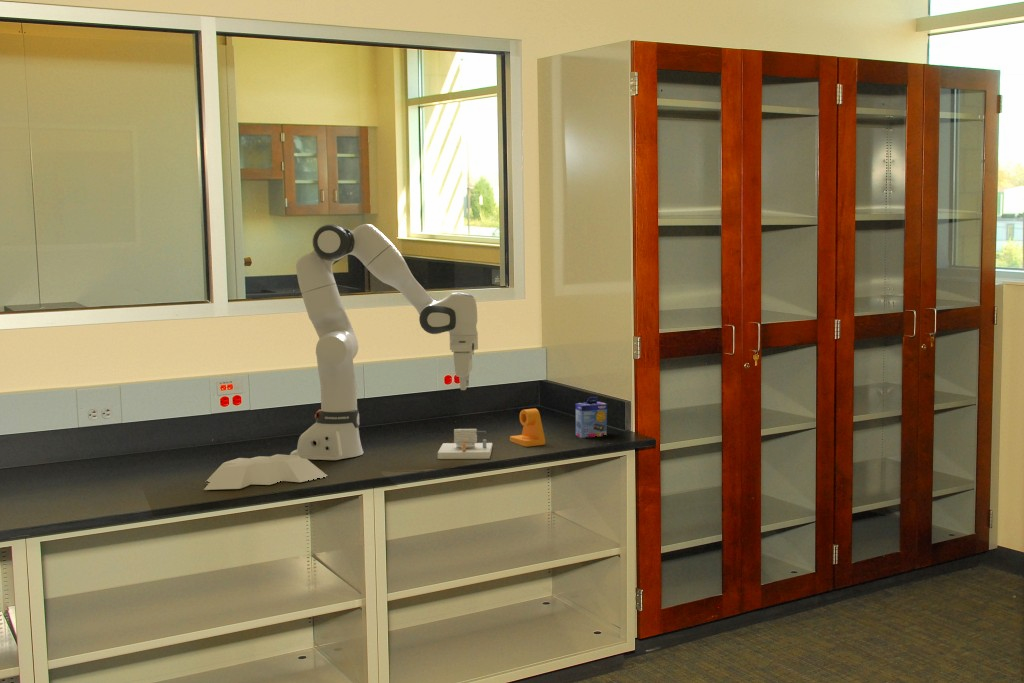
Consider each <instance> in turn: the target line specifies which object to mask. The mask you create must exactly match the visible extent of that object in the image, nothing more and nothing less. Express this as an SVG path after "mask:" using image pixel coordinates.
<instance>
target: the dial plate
mask: <svg viewBox="0 0 1024 683" xmlns="http://www.w3.org/2000/svg"><path fill="white" fill-rule="evenodd" d="M492 449H493V442H487V439H485V438H484V439H482V442H476V443H475V447H474V448H466V443H462V448H457V447H456V443H454V442H452V443H450V442H446V443H445V442H443V443H442V445H440V448H439V450H437V460H475V459H477V460H485V459H487V460H489V459H490V458H491V453H492Z"/></svg>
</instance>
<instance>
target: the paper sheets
mask: <svg viewBox="0 0 1024 683" xmlns="http://www.w3.org/2000/svg"><path fill="white" fill-rule="evenodd" d="M326 476H328V474H326V473H325V472H324V471H323V470H321V469H320V468H319V467H317V465H315V463H312V461H310V459H302V458H301V457H299V456H298V455H290V454H280V453H276V454H273V455H271V456H264V455H263V456H260V455H259V456H255V457H251V458H250V457H249V458H248V457H238V458H235V459H231V460H227V461H225V462H223V463H222V464H221V465H219V467H218V468H217V469H215V471H214V472H213V473H212V474H211V475H210V476H209V478H207V480H206V481H208V482H210V483H207V485H206V486H205V487H204V488H203V490H205V491H207V490H209V491H211V490H239V489H240V490H241V489H244V488H246V487H248V486H250V485H260V486H261V485H263V486H264V485H265V486H270V485H273V484H277V482H278V483H280V481H281V482H290V483H293V482H294V483H303V482H309V481H313V479H314V480H318V479H317V478H320V479H324V478H323V477H325V478H327V477H326ZM308 480H309V481H308Z"/></svg>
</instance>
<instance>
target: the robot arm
mask: <svg viewBox="0 0 1024 683" xmlns="http://www.w3.org/2000/svg"><path fill="white" fill-rule="evenodd" d="M312 248H313V250H312V252H310V253H307V254H304V255H302V256H301V257H300V258H299V259H297V262H296V266H295V267H296V268H295V269H296V270H295V271H296V277H297V283H298V286H299V291H300V294H301V297H302V299H303V303H304V306H305V310H306V313H307V315H308V318H309V320H310V321H311V322H310V323H312V325H313V327H314V330H315V331H316V334H317V337H318V338H319V339H318V341H317V342H316V346H315V355H316V364H317V371H318V377H319V383H320V401H321V403H320V406H321V407H320V408H321V409H318V410H317V411H316V412H315V414H314V420H315V423H313V424H312V425H311V426H310V427H308V429H307V430H305V431H304V432H303V433H302V434H300V436H299V438H298V440H297V446H296V447H297V448H296V449H295V450H293V451H291V452H290V454H289V455H298V456H299V457H301V458H302V459H307V460H316V461H317V460H322V461H339V460H342V459H349V458H354V457H355V458H356V457H359V456H362V455H364V449H363V447H362V442H361V437H360V430H359V427H360V413H359V409H358V394H357V393H358V392H357V382H356V376H355V368H354V359H355V358H356V356H357V354H358V351H359V341H358V339H357V336H356V334H355V331H354V329H353V326H352V324H351V321H350V319H349V317H348V315H347V312H346V311H345V307H344V305H343V301H342V299H341V295H340V292H339V289H338V286H337V283H336V279H335V277H334V273H333V265H335V264H336V263H338V262H340V261H341V260H343V259H344V258H345V257H347V255H351V256H354V257H356V258H357V259H358V260H359V261H360V262H361V263H362V265H363V266H364V267H365V268H366V270H368V271H369V273H371V274H372V275H373V276H374V277H375V278H376V279H378V281H380V282H382V283H383V284H385V285H388V286H390V287H392V288H394V289H395V290H397V291H398V292H400V293H401V295H402V296H403V297H405V299H406V300H407V301H408V302H409V303H410V304H411V305H412V306H413V307H414V308H415V310H416V311H417V313H418V316H419V317H418V318H419V325H420V327H421V329H422V330H424V331H425V332H426V333H428V334H430V335H440V334H442V333H446V332H448V334H449V350H451V353H453V362H454V363H453V365H454V372H455V376H456V377H459V378H458V379H459V386H460V387H459V389H460V390H461V391H466V390H467V387H468V386H469V385H470V381H469V380H470V373H471V371H472V370H473V355H474V354H475V350H478V348H479V337H478V335H479V334H478V329H477V324H478V307H477V301H476V298H475V297H474V296H473V295H471V294H470V293H466V292H458V291H454V292H451V293H450V294H448V295H447V296H445V297H444V298H442V299H440V300H437V299H435V298H433V297H432V296H431V295H430V294H429V292H428V291H427V290H426V289H425V288H424V287H423V286H422V285H421V284H420V283H419V282H418V280H417V279H416V278H415V277H414V275H413V273H412V271H411V270H410V268H409V266H408V264H407V262H406V260H405V258H404V257H403V255H402V254H401V252H400V251H399V250H398V248H397V247H396V246H395V244H393V242H392V241H391V240H390V239H389V238H388V237H387V236H386V235H384V233H382V232H381V231H380V230H379V229H378V228H377V227H375V226H374V225H373V224H369V223H364V224H360V225H358V226H357V227H355V228H354V229H352V230H350V229H348V228H344V227H342V226H340V225H337V224H325V225H323V226H320V227H319V228H317V229H316V231H315V233H314V234H313V237H312Z"/></svg>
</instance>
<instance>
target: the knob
mask: <svg viewBox="0 0 1024 683" xmlns="http://www.w3.org/2000/svg"><path fill="white" fill-rule="evenodd" d="M486 434H487V431H486V430H478V429H477V428H454V429H453V443H456V447H457V448H462V443H466V448H474V447H475V443H478V442H477V441H478V435H486Z"/></svg>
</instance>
